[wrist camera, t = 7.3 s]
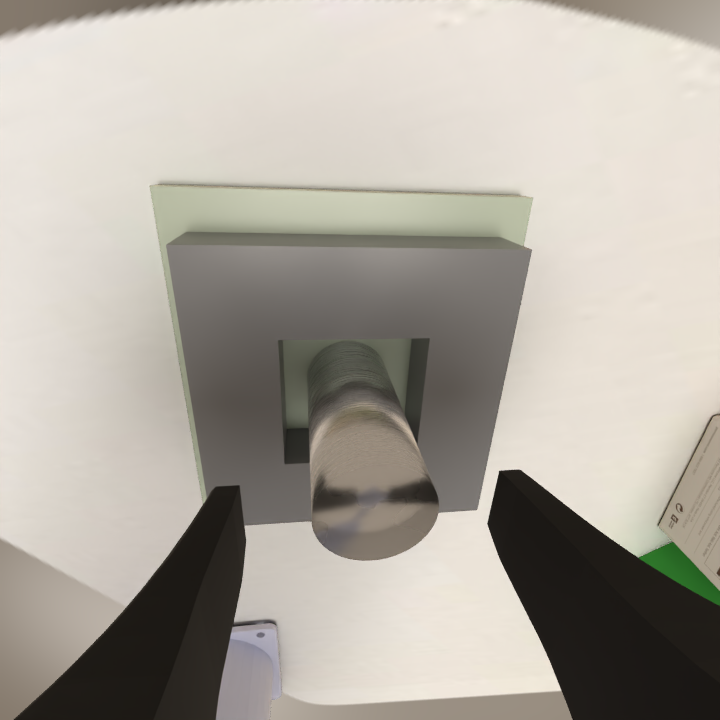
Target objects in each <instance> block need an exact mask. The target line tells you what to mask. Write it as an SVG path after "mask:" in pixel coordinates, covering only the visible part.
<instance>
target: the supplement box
mask: <svg viewBox="0 0 720 720" xmlns="http://www.w3.org/2000/svg"><path fill="white" fill-rule="evenodd" d="M659 528H660V529H661V530H662V531H663V532H664V533H665V534H666V535H667V536H668V537H669V538H670V539H671V540H672V541H673V542H674V543H675V544H676V545H677V546H678V547H679V548H680V549H681V551H682V552H683V553H684V554H685V555H686V556H687V557H688V558H689V559H690V560H691V561H692V562H693V563H694V564H695V565H696V566H697V567H698V568H699V569H700V571H701V572H702V573H703V574H704V575H705V576H706V577H707V578H708V579H709V580H710V581H711V582H712V583H713V584H714V585H715V586H716V587H717V589H718V590H719V591H720V415H717V416H714V417H713V418H712V420H711V422H710V424H709V426H708V428H707V430H706V432H705V434H704V436H703V438H702V440H701V442H700V444H699V446H698V448H697V450H696V452H695V454H694V456H693V458H692V460H691V462H690V463H689V465H688V467H687V469H686V471H685V473H684V475H683V477H682V480H681V482H680V484H679V486H678V488H677V490H676V492H675V494H674V496H673V498H672V500H671V502H670V504H669V506H668V508H667V510H666V512H665V514H664V516H663V518H662V520H661V522H660V524H659Z"/></svg>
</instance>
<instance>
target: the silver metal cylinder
mask: <svg viewBox="0 0 720 720" xmlns="http://www.w3.org/2000/svg"><path fill="white" fill-rule="evenodd" d="M307 390H308V420H309V451H310V482H311V512H312V527H313V531H314V533H315V535H316V537H317V539H318V540H319V542H320V543H321V544H322V545H323V546H324V547H325V548H327V549H328V550H329V551H331V552H333V553H335V554H337V555H339V556H341V557H345V558H348V559H354V560H363V561H364V560H379V559H384V558H388V557H392V556H395V555H397V554H400V553H402V552H404V551H406V550H408V549H410V548H411V547H413V546H415V545H416V544H417V543H419V542H420V541H421V540H422V539H423V538H424V537H425V536H426V535H427V534H428V533H429V531H430V530H431V529H432V527H433V525H434V523H435V521H436V519H437V516H438V511H439V499H438V495H437V492H436V490H435V487H434V485H433V483H432V480H431V478H430V475H429V473H428V470H427V468H426V465H425V463H424V460H423V458H422V456H421V453H420V451H419V448H418V446H417V443H416V441H415V438H414V436H413V433H412V431H411V429H410V426H409V424H408V421H407V419H406V416H405V414H404V411H403V409H402V406H401V404H400V402H399V399H398V397H397V394H396V392H395V389H394V387H393V384H392V382H391V379H390V377H389V375H388V372H387V370H386V367H385V365H384V362H383V360H382V358H381V357H380V355H379V354H378V353H377V352H376V351H375V350H374V349H373V348H371V347H370V346H368V345H366V344H363V343H360V342H356V341H341V342H337V343H333V344H331V345H329V346H327V347H325V348H324V349H322V350H321V351H320V352H319V353H318V354H317V355H316V356H315V357H314V358H313V360H312V362H311V363H310V366H309V369H308V373H307Z"/></svg>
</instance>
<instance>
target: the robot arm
mask: <svg viewBox="0 0 720 720" xmlns="http://www.w3.org/2000/svg"><path fill="white" fill-rule="evenodd" d="M487 524H488V527H489V530H490V533H491V536H492V539H493V542H494V545H495V547H496V550H497V553H498V555H499V558H500V560H501V562H502V564H503V567H504V569H505V571H506V573H507V575H508V577H509V579H510V581H511V583H512V585H513V587H514V589H515V591H516V593H517V595H518V597H519V599H520V601H521V603H522V605H523V607H524V609H525V611H526V613H527V615H528V617H529V619H530V621H531V623H532V625H533V626H534V628H535V630H536V632H537V634H538V636H539V638H540V640H541V643H542V645H543V647H544V649H545V651H546V653H547V656H548V658H549V660H550V663H551V665H552V668H553V670H554V673H555V675H556V678H557V680H558V683H559V685H560V688H561V690H562V692H563V695H564V697H565V700H566V703H567V705H568V708H569V711H570V713H571V716H572V719H573V720H720V606H719V605H717V604H715V603H713V602H712V601H710V600H708V599H706V598H704V597H702V596H701V595H699V594H697V593H695V592H693V591H692V590H690V589H688V588H686V587H685V586H683V585H681V584H679V583H678V582H676V581H674V580H673V579H671V578H670V577H668V576H666V575H665V574H663V573H662V572H660V571H658V570H657V569H655V568H653V567H652V566H650V565H649V564H647V563H645V562H644V561H642V560H641V559H639V558H638V557H636V556H635V555H633V554H632V553H630V552H629V551H627V550H626V549H624V548H623V547H622V546H620V545H619V544H617V543H616V542H614V541H613V540H612V539H610V538H609V537H607V536H606V535H604V534H603V533H602V532H600V531H599V530H598V529H596V528H595V527H594V526H592V525H591V524H590V523H588V522H587V521H586V520H584V519H583V518H582V517H580V516H579V515H578V514H576V513H575V512H574V511H572V510H571V509H570V508H569V507H567V506H566V505H565V504H563V503H562V502H561V501H560V500H558V499H557V498H556V497H555V496H553V495H552V494H551V493H549V492H548V491H547V490H546V489H544V488H543V487H542V486H541V485H539V484H538V483H537V482H536V481H534V480H533V479H532V478H530V477H529V476H528V475H526V474H525V473H524V472H522V471H521V470H505V471H499V475H498V479H497V484H496V488H495V493H494V497H493V501H492V506H491V510H490V515H489V519H488V523H487ZM245 546H246V537H245V528H244V519H243V510H242V501H241V493H240V485H233V486H216V487H215V488H214V489H213V490H212V491H211V492H210V494H209V496H208V497H207V499H206V501H205V502H204V504H203V506H202V507H201V509H200V510H199V512H198V513H197V515H196V517H195V518H194V520H193V521H192V523H191V524H190V526H189V527H188V529H187V530H186V531H185V533H184V534H183V536H182V537H181V538H180V540H179V541H178V543H177V544H176V545H175V547H174V548H173V550H172V551H171V552H170V554H169V555H168V557H167V558H166V559H165V561H164V562H163V563H162V564H161V566H160V567H159V568H158V569H157V571H156V572H155V573H154V574H153V576H152V577H151V578H150V580H149V581H148V582H147V583H146V585H145V586H144V587H143V588H142V590H141V591H140V592H139V593H138V594H137V596H136V597H135V598H134V599H133V600H132V601H131V603H130V604H129V605H128V606H127V607H126V608H125V610H124V611H123V612H122V613H121V614H120V615H119V616H118V617H117V619H116V620H115V621H114V622H113V623H112V624H111V625H110V626H109V627H108V629H107V630H106V631H105V632H104V633H103V634H102V635H101V636H100V637H99V638H98V639H97V640H96V641H95V642H94V643H93V644H92V645H91V646H90V647H89V648H88V649H87V650H86V652H84V653H83V654H82V656H81V657H80V658H79V659H78V660H77V661H76V662H75V663H74V664H73V665H72V666H71V667H70V668H69V669H68V670H67V671H66V672H65V673H64V674H63V675H61V677H59V678H58V679H57V680H56V681H55V682H54V683H53V684H52V685H51V686H50V687H49V688H48V689H47V690H45V691H44V692H43V693H42V694H41V695H40V696H39V697H38V698H37V699H36V700H35V701H33V702H32V703H31V704H30V705H29V706H28V707H27V708H26V709H25V710H24V711H23V712H21V713H20V715H18V716H17V717H16V718H15V719H14V720H270V712H271V711H270V710H271V700H275V699H278V698H280V697H281V695H282V683H281V671H280V658H279V646H278V633H277V626H276V625H274V624H272V623H268V624H257V625H247V626H236V627H233V622H234V617H235V613H236V608H237V603H238V598H239V593H240V588H241V583H242V576H243V567H244V557H245Z"/></svg>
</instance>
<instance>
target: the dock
mask: <svg viewBox="0 0 720 720" xmlns="http://www.w3.org/2000/svg"><path fill="white" fill-rule="evenodd" d="M150 191H151V197H152V203H153V209H154V215H155V221H156V227H157V233H158V239H159V245H160V251H161V257H162V263H163V268H164V274H165V280H166V286H167V292H168V298H169V304H170V310H171V316H172V322H173V328H174V334H175V340H176V346H177V352H178V358H179V364H180V370H181V376H182V382H183V388H184V394H185V400H186V406H187V412H188V418H189V424H190V430H191V436H192V442H193V448H194V453H195V459H196V465H197V471H198V477H199V483H200V489H201V495H202V501H203V504H204V502H205V501H206V499H207V497H208V496H209V494H210V492H211V491H212V490H213V489H214V488H215V487H216V486H233V485H240V493H241V501H242V510H243V519H244V525H259V524H274V523H289V522H304V521H312V512H311V482H310V451H309V420H308V390H307V373H308V369H309V366H310V363H311V362H312V360H313V358H314V357H315V356H316V355H317V354H318V353H319V352H320V351H321V350H322V349H324V348H325V347H327V346H329V345H331V344H333V343H337V342H341V341H356V342H360V343H363V344H366V345H368V346H370V347H371V348H373V349H374V350H375V351H376V352H377V353H378V354H379V355H380V357H381V358H382V360H383V362H384V365H385V367H386V370H387V372H388V375H389V377H390V379H391V382H392V384H393V387H394V389H395V392H396V394H397V397H398V399H399V402H400V404H401V406H402V409H403V411H404V414H405V416H406V419H407V421H408V424H409V426H410V429H411V431H412V433H413V436H414V438H415V441H416V443H417V446H418V448H419V451H420V453H421V456H422V458H423V460H424V463H425V465H426V468H427V470H428V473H429V475H430V478H431V480H432V483H433V485H434V487H435V490H436V492H437V495H438V499H439V511H438V513H440V512H455V511H470V510H477V508H478V503H479V499H480V494H481V489H482V484H483V480H484V475H485V470H486V465H487V461H488V456H489V451H490V447H491V442H492V437H493V432H494V428H495V423H496V418H497V413H498V409H499V404H500V399H501V394H502V390H503V385H504V380H505V375H506V371H507V366H508V361H509V356H510V352H511V347H512V342H513V338H514V333H515V328H516V323H517V319H518V314H519V309H520V304H521V300H522V295H523V290H524V285H525V281H526V276H527V271H528V266H529V262H530V257H531V252H532V250H531V249H529V248H526V247H524V241H525V236H526V231H527V226H528V221H529V216H530V211H531V206H532V201H533V198H532V197H526V196H516V195H484V194H452V193H420V192H388V191H355V190H323V189H291V188H259V187H227V186H194V185H162V184H158V185H153V186H150Z"/></svg>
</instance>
